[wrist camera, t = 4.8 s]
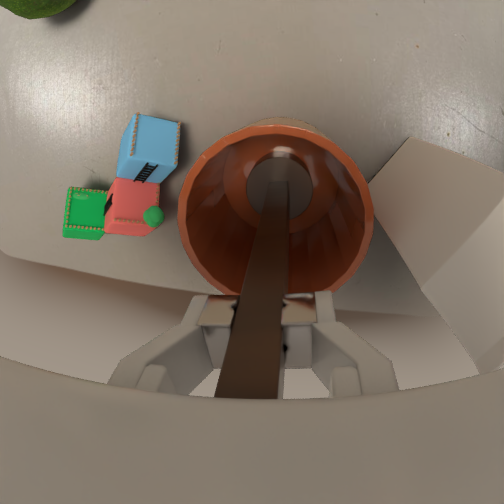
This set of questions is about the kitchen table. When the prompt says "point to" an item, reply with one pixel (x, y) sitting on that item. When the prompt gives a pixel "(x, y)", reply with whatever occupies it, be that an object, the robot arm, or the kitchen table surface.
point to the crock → (247, 219)
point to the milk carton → (449, 239)
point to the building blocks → (127, 184)
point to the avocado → (36, 7)
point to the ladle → (265, 281)
